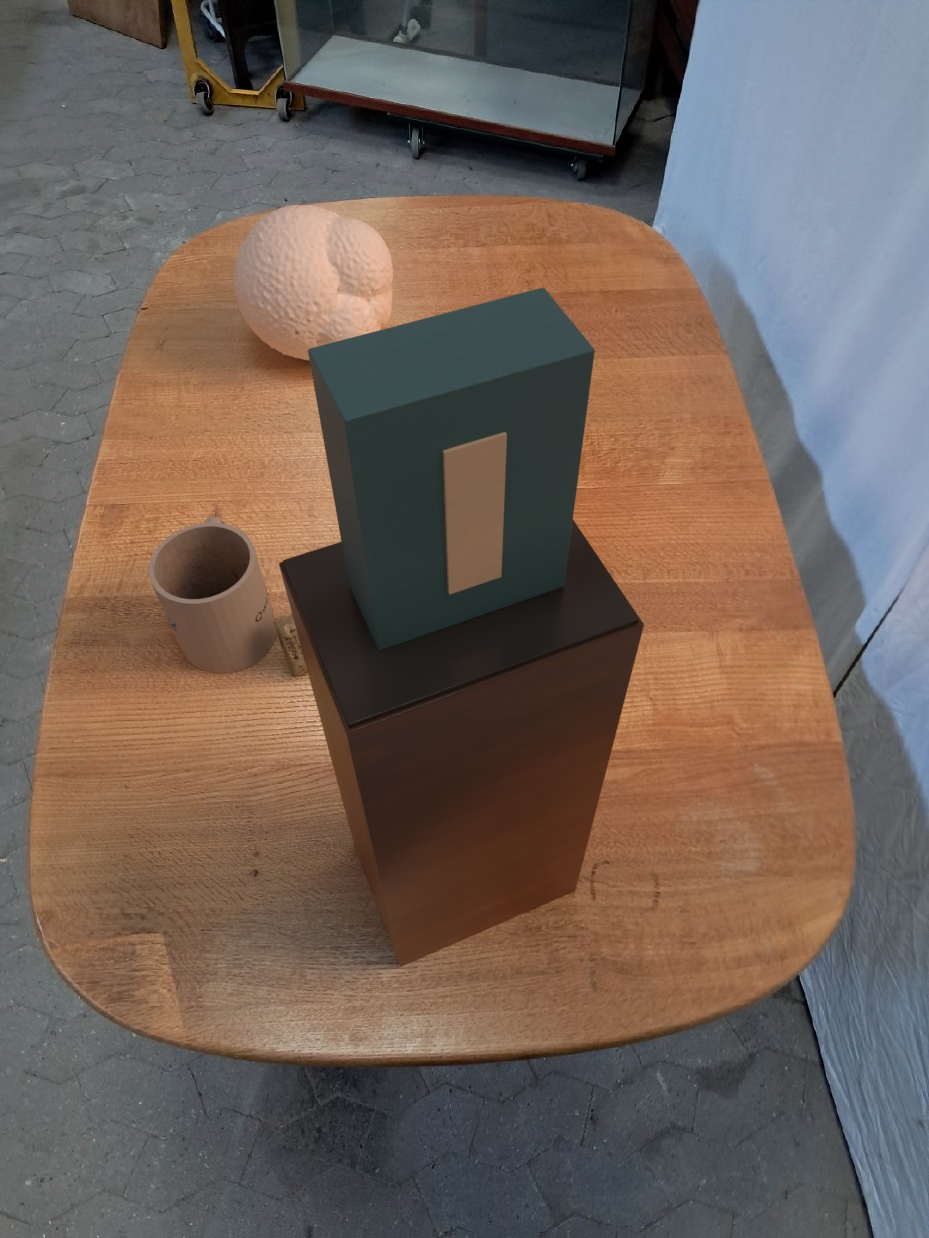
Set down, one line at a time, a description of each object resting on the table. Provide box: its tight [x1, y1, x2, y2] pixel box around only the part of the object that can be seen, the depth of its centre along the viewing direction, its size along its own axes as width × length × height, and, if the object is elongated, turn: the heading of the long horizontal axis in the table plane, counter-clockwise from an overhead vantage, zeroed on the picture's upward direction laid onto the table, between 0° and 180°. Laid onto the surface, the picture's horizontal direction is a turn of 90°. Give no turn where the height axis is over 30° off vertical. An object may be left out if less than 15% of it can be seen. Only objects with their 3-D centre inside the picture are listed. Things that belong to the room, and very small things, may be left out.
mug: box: [147, 515, 277, 674], centre depth 79 cm, size 12×9×10 cm
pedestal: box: [278, 519, 645, 967], centre depth 55 cm, size 10×14×34 cm
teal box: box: [308, 287, 596, 651], centre depth 36 cm, size 4×9×13 cm, turn 113°
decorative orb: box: [232, 204, 394, 362], centre depth 100 cm, size 20×18×16 cm
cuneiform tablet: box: [274, 613, 308, 677], centre depth 78 cm, size 7×4×12 cm
